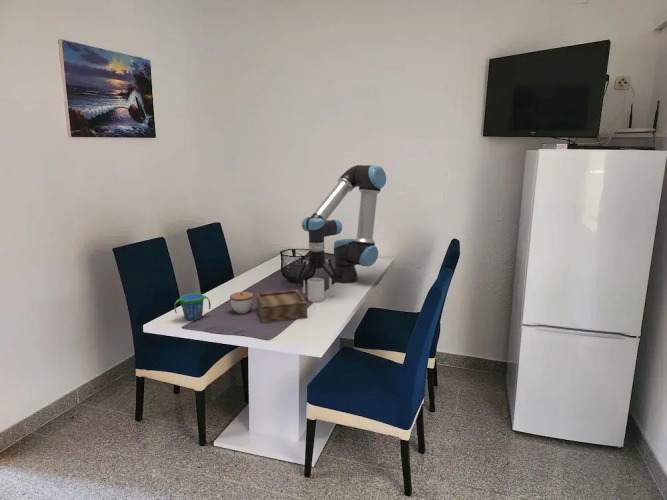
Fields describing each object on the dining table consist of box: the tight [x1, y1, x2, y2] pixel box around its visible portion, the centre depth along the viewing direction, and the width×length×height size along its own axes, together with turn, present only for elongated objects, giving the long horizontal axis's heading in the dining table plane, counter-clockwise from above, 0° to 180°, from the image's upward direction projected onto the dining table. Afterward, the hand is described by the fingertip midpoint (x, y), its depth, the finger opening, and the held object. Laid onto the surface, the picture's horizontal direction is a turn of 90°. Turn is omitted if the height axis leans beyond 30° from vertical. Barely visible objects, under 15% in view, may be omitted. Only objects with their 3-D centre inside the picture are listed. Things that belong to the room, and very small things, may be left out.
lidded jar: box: [229, 291, 254, 314], centre depth 225 cm, size 11×11×9 cm
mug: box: [306, 277, 325, 303], centre depth 241 cm, size 12×8×10 cm
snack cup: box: [173, 292, 212, 322], centre depth 216 cm, size 16×10×10 cm
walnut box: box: [255, 289, 308, 323], centre depth 222 cm, size 20×20×7 cm
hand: (317, 291), depth 241 cm, fingers open, 13 cm apart
